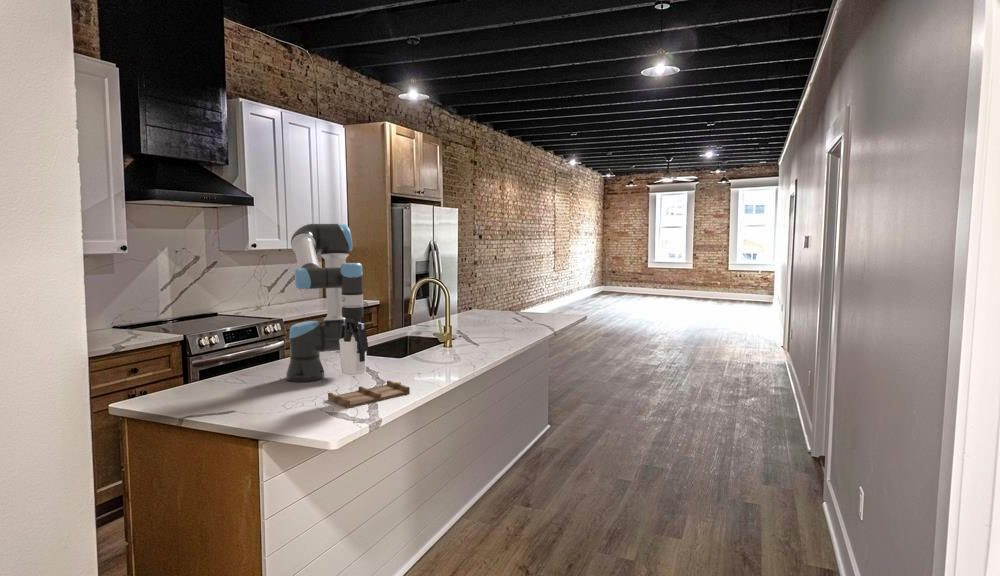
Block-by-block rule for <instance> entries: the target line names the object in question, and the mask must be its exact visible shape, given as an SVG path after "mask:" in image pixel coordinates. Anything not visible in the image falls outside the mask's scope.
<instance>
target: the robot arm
mask: <svg viewBox="0 0 1000 576" xmlns="http://www.w3.org/2000/svg"><path fill="white" fill-rule="evenodd" d="M290 245H291V249H292V251H293V253H295V258H296V261H297V262H296V263H297V266H298V268H296V269H295V270H294V284H295V285H294V286H295V288H296V289H298V290H314V289H315V290H317V289H318V290H319V289H325V294H326V296H325V297H326V317H325V318H323V323H319V321H318V320H308V321H302V322H298V323H294V324H293V325H291V326H290V328H289V337H288V338H289V356H290V357H289V359H290V360H289V363H288V367H287V370H286V373H285V375H286V381H288V382H293V383H305V382H314V381H318V380H321V379H323V378H325V369H324V366H323V364H322V361H321V359H320V358H321V357H320V356H321V355H320V354H321V353H323V352H324V353H325V352H326V353H327V352H336V351H339V352H340V345H339V340H340V339H342V338H344V342H350V341H351V337H354V338H355V342H356V341H357V349H358V351H357V352H356V353H357V371H362V370H365V352H366V353H367V352H368V351H369V350H370V349H369V342H368V337H367V335H368V334H367V324H366V322H364V323H362V321H361V318H362V317H364V307H363V305H364V283H363V281H364V280H363V279H364V278H363V276H364V271H363V265H362V263H360V262H346V261H347V258H348V257H349V256H350V252H351V251H353V236H352V232H351V230H350V228H349V226H348V225H347V224H342V223H309V224H305V225H302V226H300V227H299V228H298V229H297V230H296V231H294V233H293V234H292V236H291V239H290ZM316 252H320V257H322V259H324V267H321V266H320V261H319V259H318V256H317V253H316ZM360 348H361V349H360Z"/></svg>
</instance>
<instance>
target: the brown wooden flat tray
mask: <svg viewBox="0 0 1000 576" xmlns="http://www.w3.org/2000/svg"><path fill="white" fill-rule="evenodd" d="M410 389H411V387H410V386H407V385H404V384H402V382H401V381H391V380H386V384H384V385H377V386H374V387H369V388H368V387H365V386H361V385H360V386H358V390H355V391H350V392H346V393H342V394H336V393H335V394H334V393H332V392H327V400H328V401H330V402H332V403H335V404H337V405H339V406H342V407H344V408H346V409H350V408H354V407H359V406H364V405H368V404H372V403H375V402H380V401H384V400H389V399H393V398H396V397H403V396H405V395H410V393H411V392H410Z"/></svg>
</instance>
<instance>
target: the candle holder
mask: <svg viewBox="0 0 1000 576" xmlns="http://www.w3.org/2000/svg"><path fill="white" fill-rule="evenodd" d="M339 345H340V350H339V354H340V355H339V357H340V365H341V367H340V368H341V372H342V373H341V374H343V375H346V376H347V375H349V376H352V375H353V376H356V375H362V374H364V373H366V371H367V351H366V352H365V370H362V371H357V353H356V352H357V351H358V349H357V341H356V342H355V338H354V337H351V341H350V342H344V338H342V339H340V340H339ZM360 349H361V348H360Z"/></svg>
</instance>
